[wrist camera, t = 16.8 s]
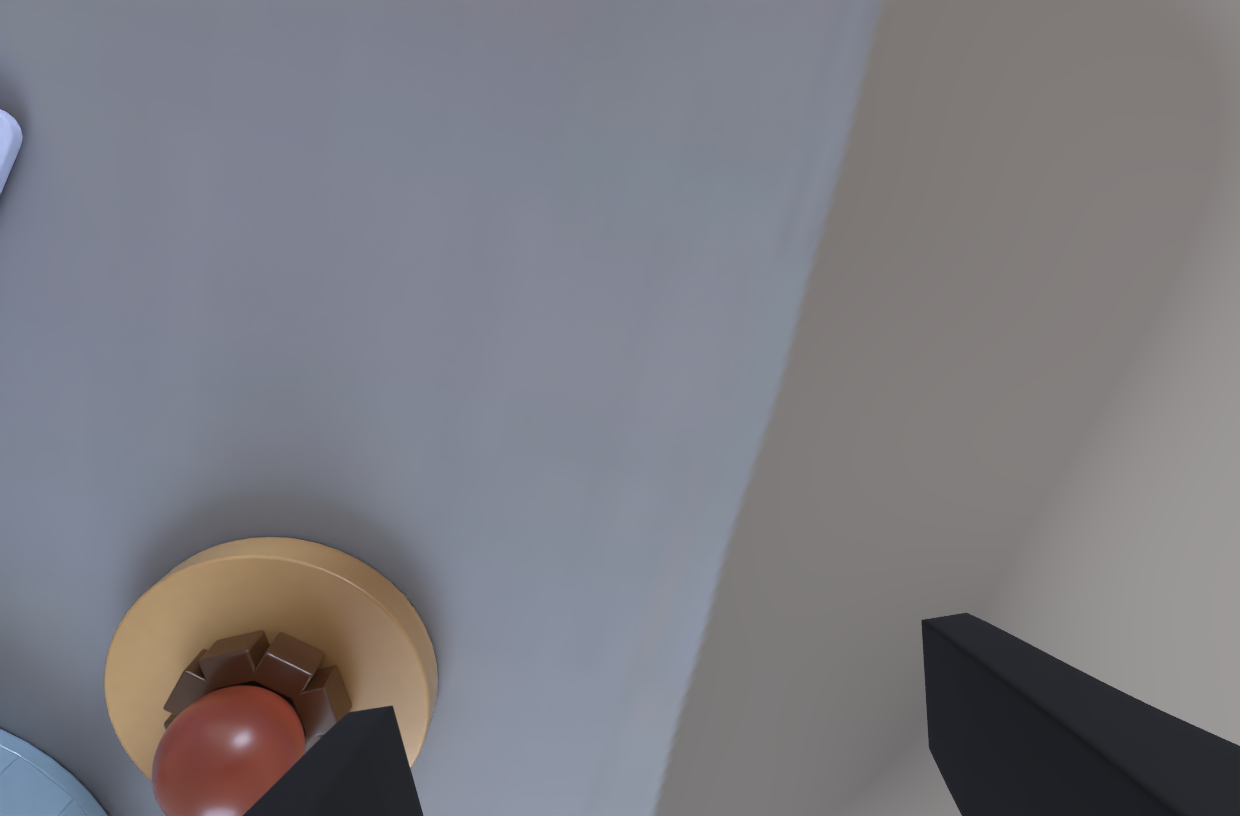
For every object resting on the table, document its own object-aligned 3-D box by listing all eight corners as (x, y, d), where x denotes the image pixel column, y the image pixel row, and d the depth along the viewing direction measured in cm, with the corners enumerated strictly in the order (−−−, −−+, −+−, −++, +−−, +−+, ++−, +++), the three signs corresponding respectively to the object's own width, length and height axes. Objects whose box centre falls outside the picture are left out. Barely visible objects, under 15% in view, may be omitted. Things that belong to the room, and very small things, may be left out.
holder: (81, 720, 21) (23, 778, 19) (209, 479, 19) (161, 512, 17) (353, 843, 22) (327, 910, 20) (493, 628, 21) (482, 676, 18)
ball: (215, 775, 19) (146, 881, 16) (179, 669, 19) (99, 760, 16) (336, 755, 20) (291, 857, 16) (305, 649, 19) (252, 735, 16)
